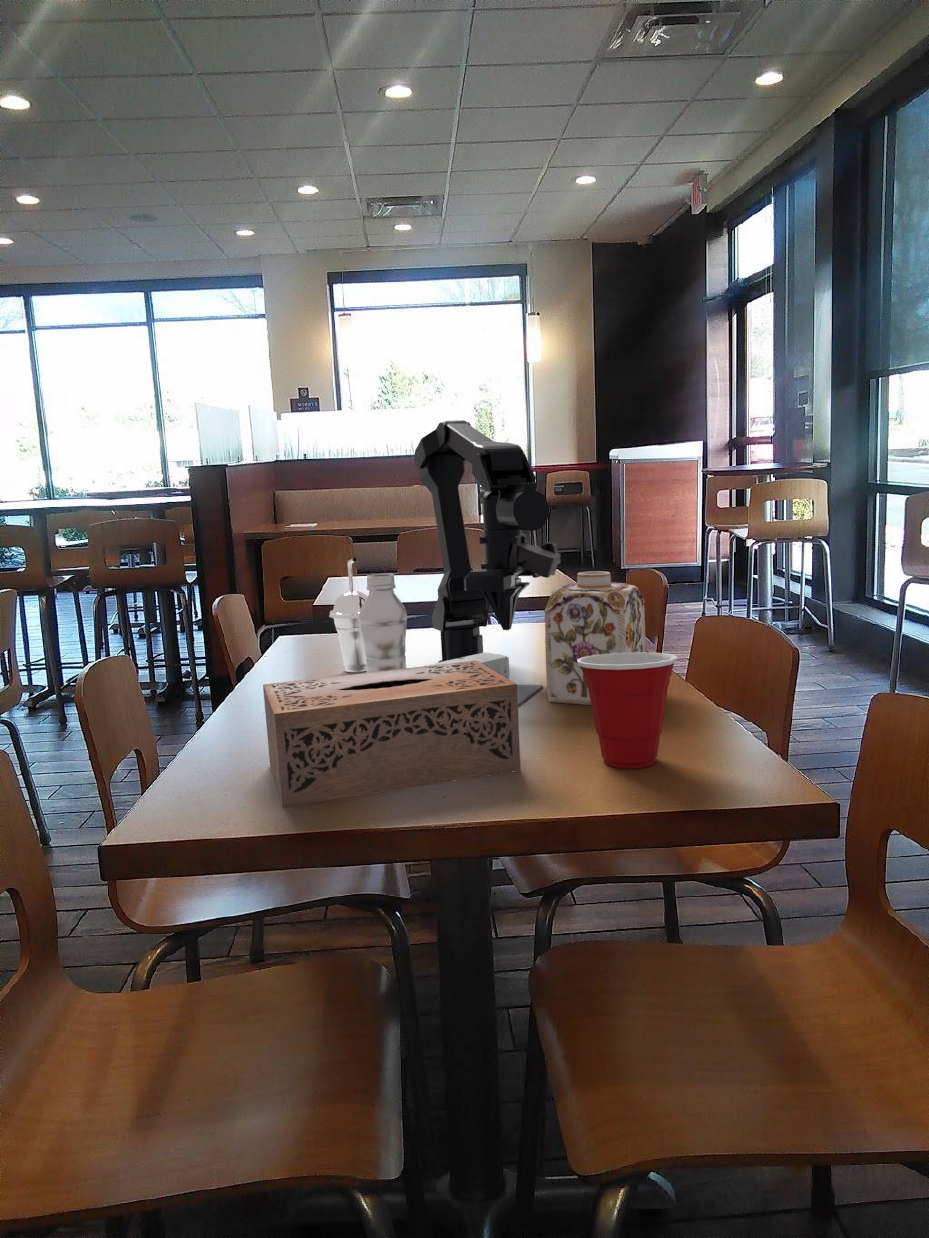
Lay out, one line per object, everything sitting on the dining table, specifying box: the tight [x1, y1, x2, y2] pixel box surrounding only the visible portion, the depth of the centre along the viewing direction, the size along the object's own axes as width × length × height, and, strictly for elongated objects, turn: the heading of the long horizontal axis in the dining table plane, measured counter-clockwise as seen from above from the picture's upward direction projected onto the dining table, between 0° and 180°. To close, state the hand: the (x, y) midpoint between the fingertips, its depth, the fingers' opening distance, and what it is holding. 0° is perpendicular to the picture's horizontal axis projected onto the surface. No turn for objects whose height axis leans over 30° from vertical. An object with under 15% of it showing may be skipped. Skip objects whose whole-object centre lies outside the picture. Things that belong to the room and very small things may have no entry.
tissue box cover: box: [262, 661, 522, 808], centre depth 100 cm, size 26×14×10 cm, turn 107°
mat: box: [516, 683, 544, 707], centre depth 131 cm, size 12×14×1 cm
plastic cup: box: [577, 651, 678, 770], centre depth 98 cm, size 11×11×12 cm
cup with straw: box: [328, 557, 368, 673], centre depth 153 cm, size 8×9×20 cm
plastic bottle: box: [359, 573, 408, 673], centre depth 118 cm, size 6×7×20 cm
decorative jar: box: [543, 570, 646, 706], centre depth 127 cm, size 12×12×18 cm
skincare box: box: [425, 652, 510, 680], centre depth 136 cm, size 6×4×12 cm
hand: (507, 629), depth 137 cm, fingers closed
